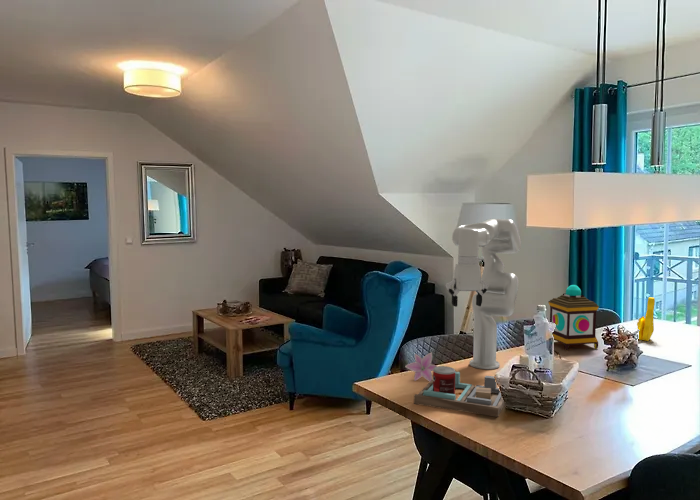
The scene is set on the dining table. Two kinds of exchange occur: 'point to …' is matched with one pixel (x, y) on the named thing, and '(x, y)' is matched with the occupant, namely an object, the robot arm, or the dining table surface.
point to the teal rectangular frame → (447, 395)
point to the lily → (422, 367)
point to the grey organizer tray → (487, 384)
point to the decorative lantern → (574, 318)
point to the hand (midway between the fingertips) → (466, 305)
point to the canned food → (444, 379)
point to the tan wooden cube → (483, 393)
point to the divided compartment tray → (458, 403)
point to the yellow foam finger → (647, 321)
